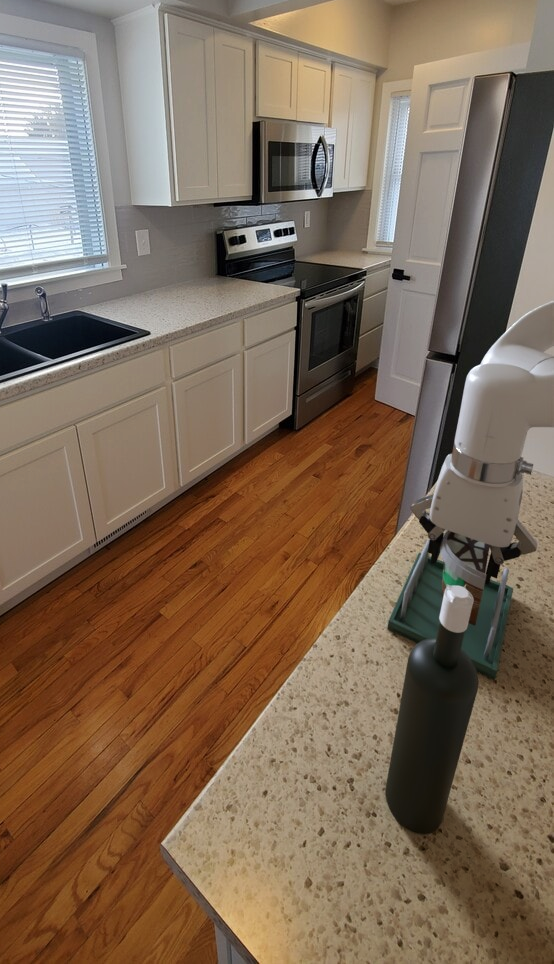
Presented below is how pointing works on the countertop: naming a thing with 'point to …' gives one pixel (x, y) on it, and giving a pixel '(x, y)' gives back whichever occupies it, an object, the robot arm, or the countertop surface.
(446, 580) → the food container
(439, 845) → the countertop surface
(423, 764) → the wine bottle
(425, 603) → the drying rack
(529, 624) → the countertop surface
